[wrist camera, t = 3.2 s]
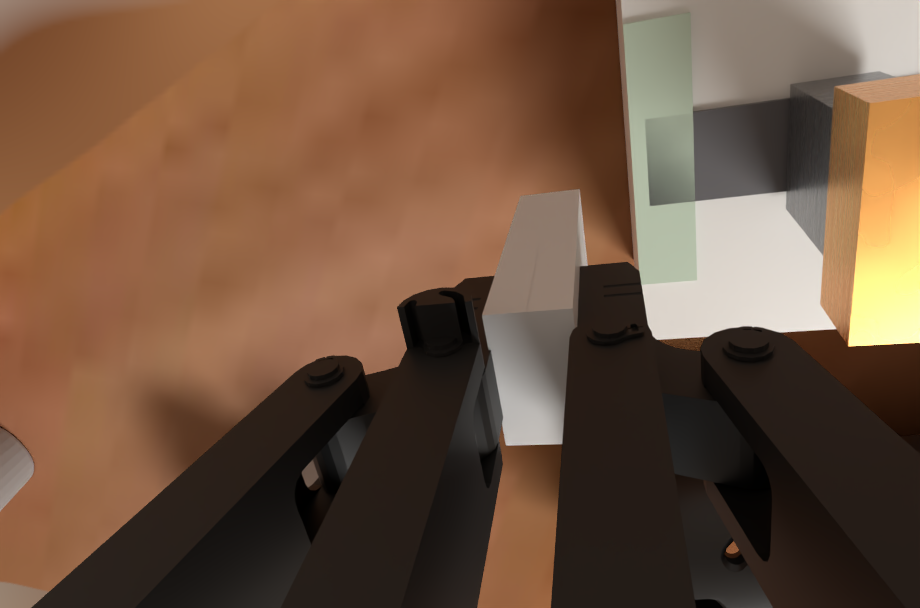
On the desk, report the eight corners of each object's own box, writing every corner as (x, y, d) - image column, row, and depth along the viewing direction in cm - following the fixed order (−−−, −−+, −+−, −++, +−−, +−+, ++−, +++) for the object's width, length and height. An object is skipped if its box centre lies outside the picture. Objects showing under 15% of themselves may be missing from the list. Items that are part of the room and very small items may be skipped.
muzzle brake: (564, 426, 38) (554, 570, 29) (1171, 339, 29) (1428, 505, 20) (601, 545, 41) (602, 705, 32) (1150, 498, 33) (1360, 698, 24)
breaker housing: (952, -127, 23) (1110, -172, 16) (907, 235, 29) (1008, 321, 22) (611, -56, 26) (616, -66, 19) (633, 260, 32) (643, 343, 25)
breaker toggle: (897, 40, 19) (1062, 77, 12) (878, 222, 21) (1008, 337, 14) (776, 58, 19) (869, 103, 13) (772, 232, 22) (847, 346, 15)
